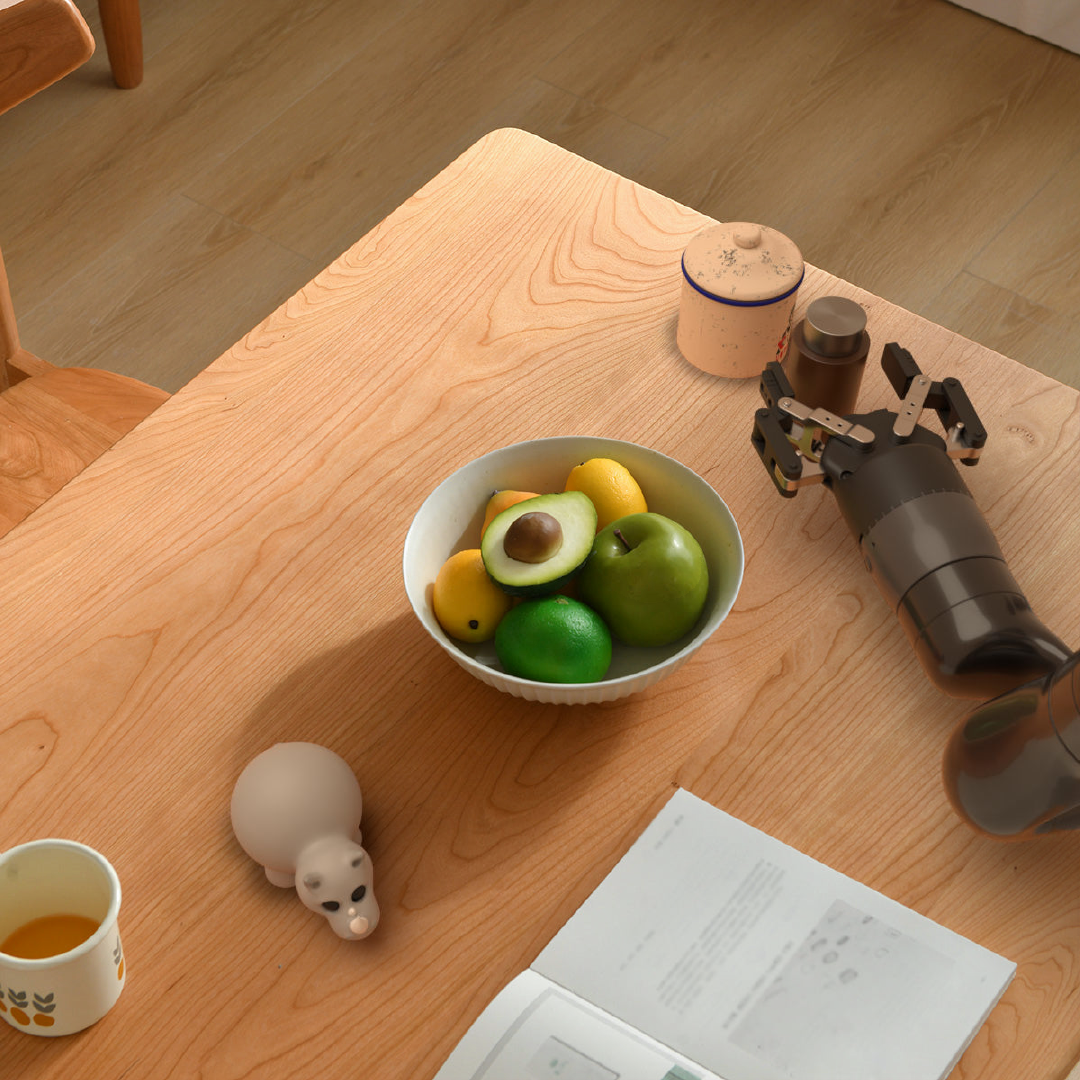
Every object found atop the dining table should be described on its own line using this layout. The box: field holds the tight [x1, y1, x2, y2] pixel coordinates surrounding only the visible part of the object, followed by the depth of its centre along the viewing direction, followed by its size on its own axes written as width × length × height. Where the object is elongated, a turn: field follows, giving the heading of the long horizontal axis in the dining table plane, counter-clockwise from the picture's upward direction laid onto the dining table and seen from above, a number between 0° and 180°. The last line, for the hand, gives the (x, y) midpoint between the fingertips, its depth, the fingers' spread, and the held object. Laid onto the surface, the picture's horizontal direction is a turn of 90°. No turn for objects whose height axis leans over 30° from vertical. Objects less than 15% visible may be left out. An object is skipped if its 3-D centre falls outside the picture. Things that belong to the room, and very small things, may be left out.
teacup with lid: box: [676, 221, 806, 379], centre depth 103 cm, size 12×9×12 cm
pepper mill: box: [784, 295, 872, 463], centre depth 95 cm, size 5×5×13 cm
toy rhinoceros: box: [230, 741, 381, 941], centre depth 74 cm, size 7×12×8 cm, turn 29°
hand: (828, 360), depth 93 cm, fingers open, 8 cm apart
